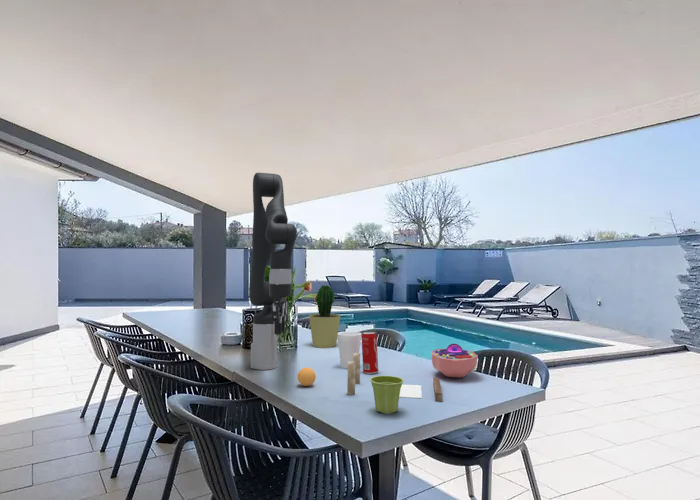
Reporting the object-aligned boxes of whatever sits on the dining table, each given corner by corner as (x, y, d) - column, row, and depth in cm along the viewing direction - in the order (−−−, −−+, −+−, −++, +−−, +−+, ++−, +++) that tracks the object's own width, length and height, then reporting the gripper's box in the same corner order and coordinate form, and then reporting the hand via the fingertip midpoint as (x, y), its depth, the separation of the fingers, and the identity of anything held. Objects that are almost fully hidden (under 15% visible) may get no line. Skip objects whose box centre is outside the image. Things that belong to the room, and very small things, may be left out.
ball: (295, 387, 151) (295, 369, 151) (299, 382, 157) (300, 365, 157) (313, 388, 150) (313, 370, 150) (317, 383, 156) (317, 366, 156)
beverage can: (377, 375, 169) (377, 334, 169) (359, 373, 170) (360, 333, 171) (379, 371, 175) (379, 331, 175) (362, 370, 176) (363, 330, 176)
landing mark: (376, 395, 143) (376, 395, 143) (379, 383, 157) (379, 383, 157) (421, 398, 141) (421, 397, 141) (421, 386, 155) (421, 385, 155)
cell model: (425, 380, 163) (425, 348, 163) (436, 367, 182) (436, 339, 182) (474, 385, 157) (474, 352, 157) (480, 372, 175) (480, 342, 176)
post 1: (346, 394, 144) (347, 362, 144) (347, 392, 146) (348, 361, 146) (354, 395, 144) (354, 363, 144) (355, 393, 146) (355, 361, 146)
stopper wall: (435, 401, 139) (435, 392, 139) (433, 385, 156) (433, 377, 157) (442, 401, 138) (442, 393, 138) (439, 385, 156) (439, 377, 156)
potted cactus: (304, 348, 218) (305, 284, 218) (312, 342, 233) (313, 283, 233) (336, 349, 215) (337, 285, 216) (342, 343, 230) (343, 283, 231)
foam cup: (343, 370, 176) (344, 336, 176) (333, 365, 184) (333, 332, 184) (365, 367, 180) (365, 334, 180) (354, 362, 188) (354, 331, 188)
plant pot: (367, 405, 134) (368, 375, 134) (399, 404, 135) (400, 375, 135) (372, 416, 125) (372, 384, 125) (406, 415, 126) (406, 383, 126)
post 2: (352, 383, 157) (352, 354, 157) (353, 381, 159) (353, 352, 159) (359, 384, 156) (359, 354, 157) (360, 382, 159) (360, 353, 159)
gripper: (276, 281, 163) (275, 329, 163) (262, 283, 149) (262, 336, 149) (296, 281, 162) (295, 330, 162) (285, 283, 148) (284, 337, 148)
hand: (279, 333), depth 155 cm, fingers open, 3 cm apart
